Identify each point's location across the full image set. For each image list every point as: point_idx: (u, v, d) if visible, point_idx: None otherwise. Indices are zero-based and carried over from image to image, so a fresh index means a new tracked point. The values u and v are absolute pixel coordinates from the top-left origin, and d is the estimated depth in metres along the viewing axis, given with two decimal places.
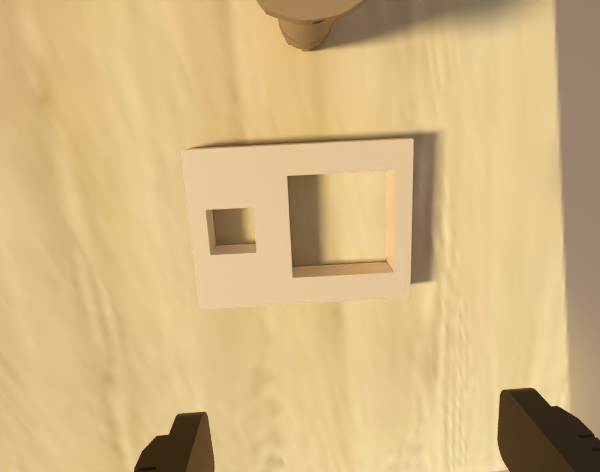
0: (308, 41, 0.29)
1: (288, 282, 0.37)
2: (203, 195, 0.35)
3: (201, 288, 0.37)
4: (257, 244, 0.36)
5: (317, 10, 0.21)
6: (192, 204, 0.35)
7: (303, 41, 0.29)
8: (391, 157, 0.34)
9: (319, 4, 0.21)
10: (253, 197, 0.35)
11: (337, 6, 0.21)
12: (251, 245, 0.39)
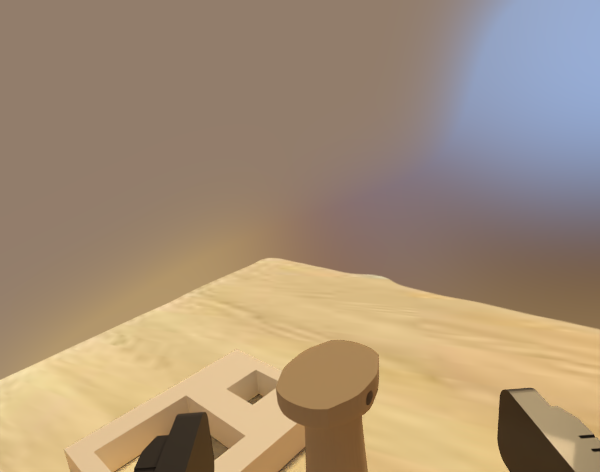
0: None
1: (187, 391, 0.42)
2: None
3: (244, 355, 0.47)
4: (229, 392, 0.41)
5: (301, 358, 0.24)
6: None
7: None
8: None
9: (302, 361, 0.24)
10: (257, 409, 0.38)
11: (291, 367, 0.23)
12: None
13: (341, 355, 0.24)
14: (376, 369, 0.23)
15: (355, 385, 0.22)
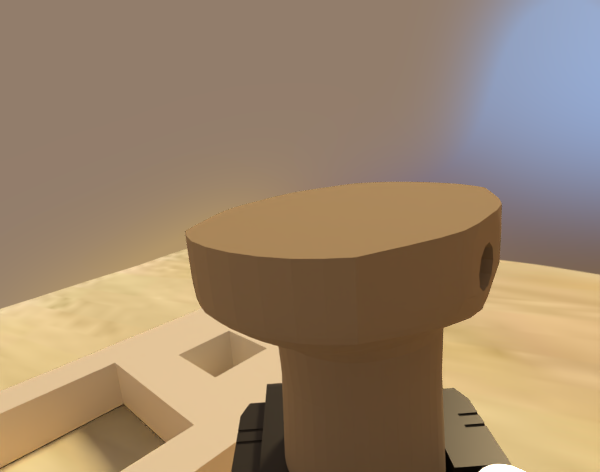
0: None
1: (118, 358, 0.27)
2: None
3: None
4: (182, 360, 0.26)
5: (277, 200, 0.09)
6: None
7: None
8: None
9: (280, 201, 0.09)
10: (222, 383, 0.23)
11: (246, 208, 0.09)
12: None
13: (384, 192, 0.09)
14: (494, 200, 0.08)
15: (443, 219, 0.06)
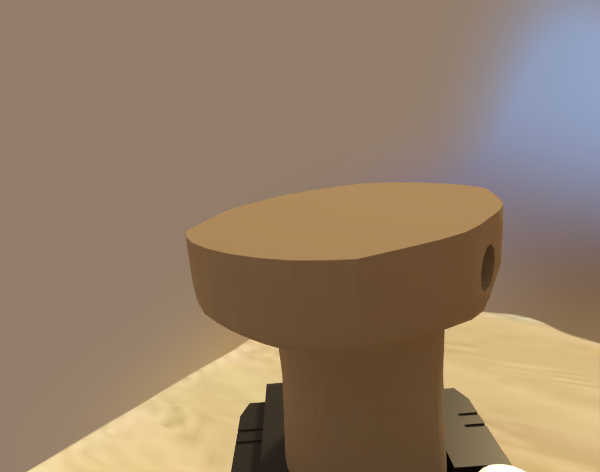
0: None
1: None
2: None
3: None
4: None
5: (277, 200, 0.09)
6: None
7: None
8: None
9: (281, 202, 0.09)
10: None
11: (246, 209, 0.08)
12: None
13: (384, 193, 0.09)
14: (496, 201, 0.08)
15: (445, 220, 0.06)
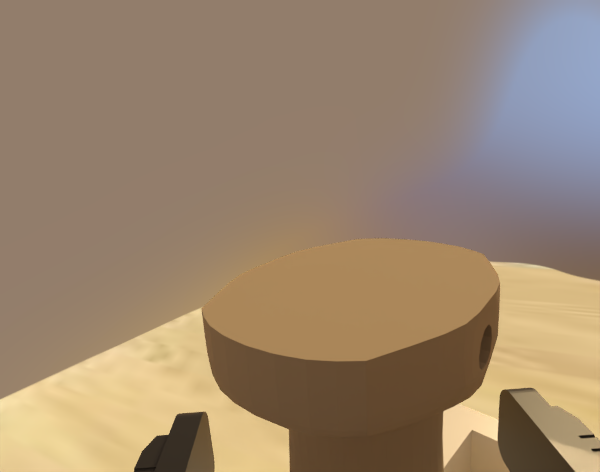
0: None
1: None
2: None
3: None
4: None
5: (285, 262, 0.10)
6: None
7: None
8: None
9: (290, 265, 0.09)
10: None
11: (257, 275, 0.09)
12: None
13: (387, 256, 0.10)
14: (493, 275, 0.08)
15: (446, 304, 0.07)
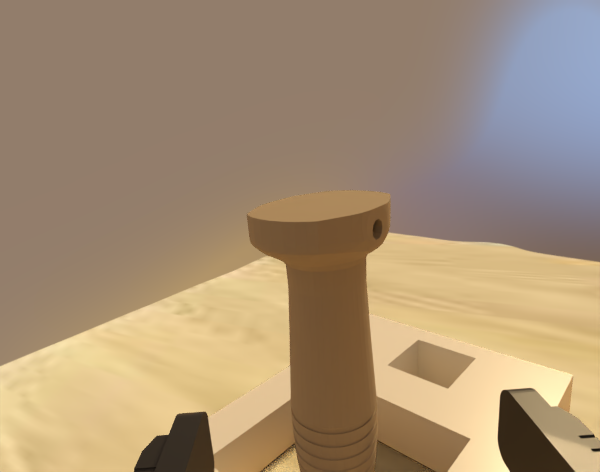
0: None
1: None
2: (496, 365, 0.26)
3: (389, 322, 0.32)
4: (396, 370, 0.26)
5: (285, 200, 0.18)
6: (490, 353, 0.27)
7: None
8: None
9: (288, 201, 0.18)
10: (461, 395, 0.23)
11: (271, 204, 0.17)
12: None
13: (340, 196, 0.18)
14: (387, 200, 0.16)
15: (358, 208, 0.15)
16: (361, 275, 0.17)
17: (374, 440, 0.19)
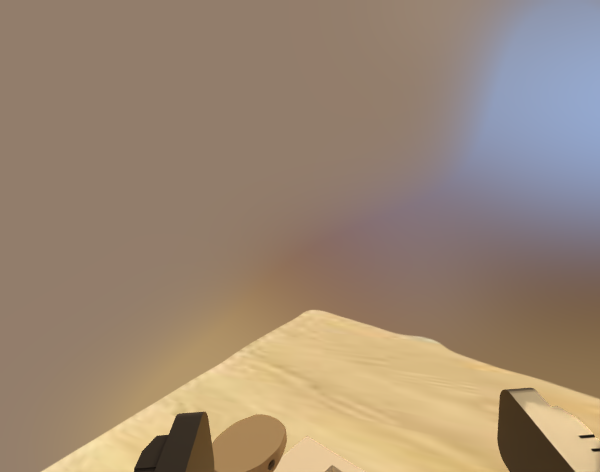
0: None
1: None
2: None
3: (317, 445, 0.47)
4: None
5: (230, 430, 0.33)
6: None
7: None
8: None
9: (230, 433, 0.33)
10: None
11: (220, 438, 0.32)
12: None
13: (259, 429, 0.33)
14: (280, 442, 0.32)
15: (261, 456, 0.30)
16: None
17: None
